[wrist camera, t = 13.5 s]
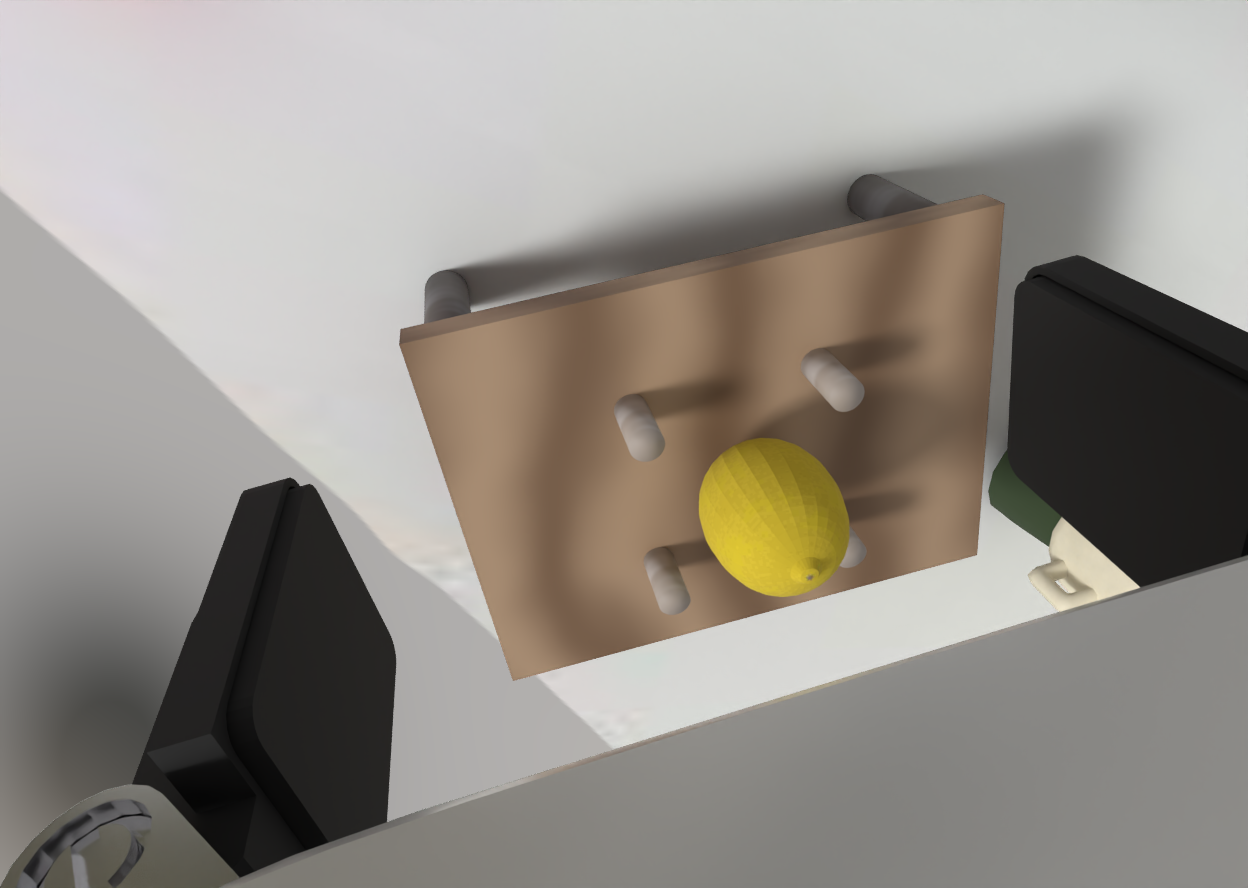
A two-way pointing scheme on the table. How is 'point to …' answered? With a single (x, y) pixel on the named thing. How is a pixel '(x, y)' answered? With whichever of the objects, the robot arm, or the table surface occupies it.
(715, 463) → the lemon
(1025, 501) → the character mug
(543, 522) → the peg shelf
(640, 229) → the table surface
